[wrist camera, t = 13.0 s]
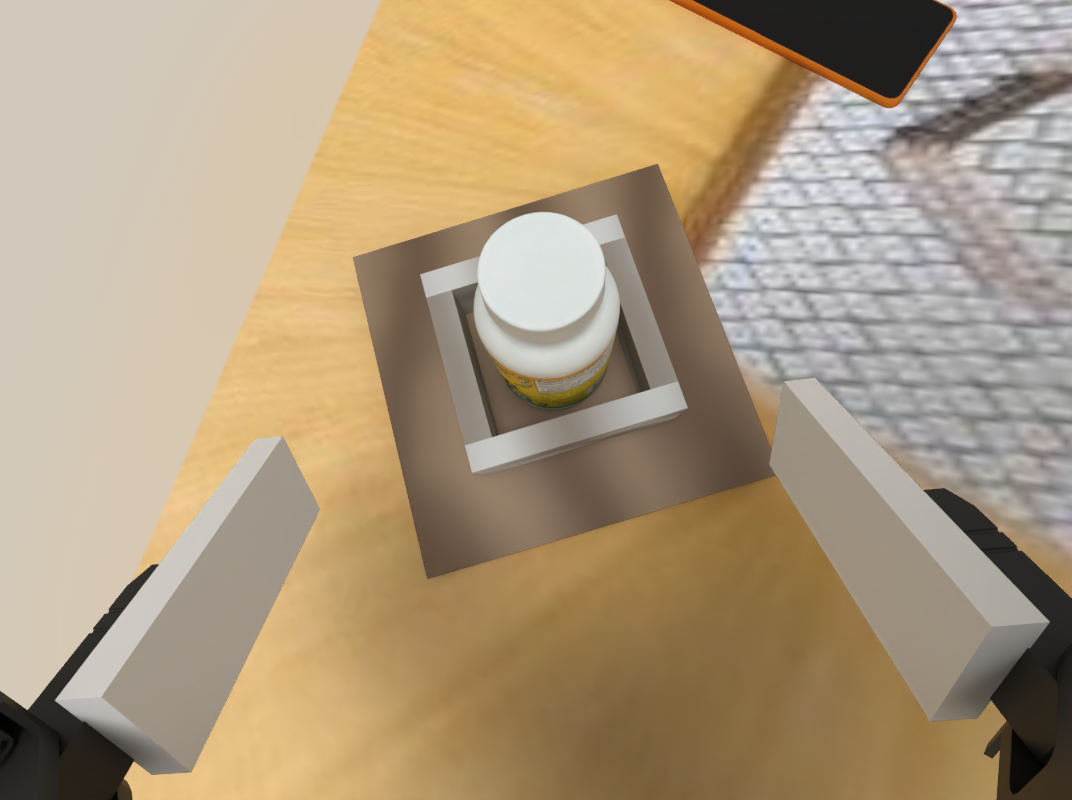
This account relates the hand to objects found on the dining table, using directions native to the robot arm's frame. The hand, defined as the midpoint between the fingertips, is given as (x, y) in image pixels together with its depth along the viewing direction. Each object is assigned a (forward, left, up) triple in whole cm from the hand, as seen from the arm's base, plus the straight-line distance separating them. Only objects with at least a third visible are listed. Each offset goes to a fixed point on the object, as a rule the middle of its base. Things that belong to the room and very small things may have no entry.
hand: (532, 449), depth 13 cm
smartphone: (-22, -22, -12) cm, 33 cm away
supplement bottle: (-2, -5, -10) cm, 12 cm away
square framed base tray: (-2, -5, -11) cm, 13 cm away
